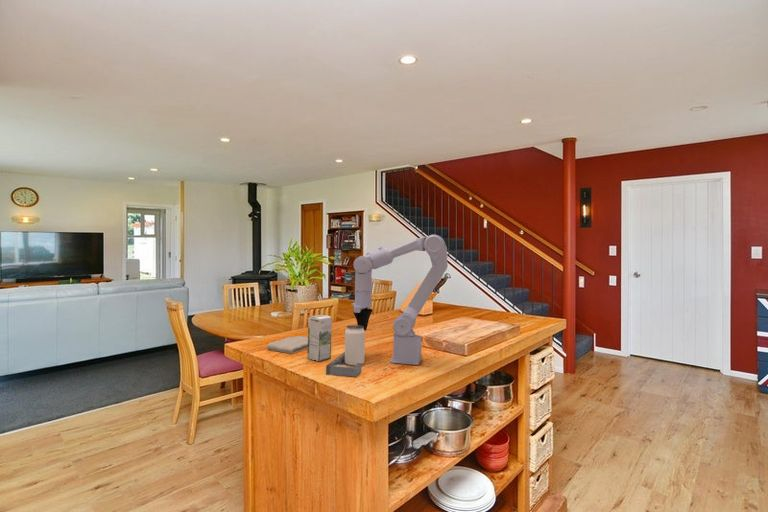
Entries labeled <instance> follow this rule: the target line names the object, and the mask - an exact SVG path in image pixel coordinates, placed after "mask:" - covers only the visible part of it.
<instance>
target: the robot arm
mask: <svg viewBox="0 0 768 512" xmlns="http://www.w3.org/2000/svg"><path fill="white" fill-rule="evenodd" d="M415 251H420V252H426V253H427V255H428V256H429V259H430V262H431V268H430V269H429V271H428V273H427V274H426V276H425V277H424V278H423V280H422V282H421V284H419V285H420V286H418V288H417V290H416V292H415V293H414V294H413V297H412V298H411V299H410V301H409V303H408V305H407V306H406V307H405V309H404V310H403V312H402V313H400V314H399V315H398V317H397V318H395V320H394V321H393V324H392V328H393V329H392V330H393V331H394V332H393V342H392V343H393V348H392V349H393V350H392V353H393V354H392V357H391V359H390V361H389V363H391V364H403V365H413V366H414V365H415V366H418V365H419V364H420V362H421V361H422V345H423V343H422V336H421V335H416V332H415V330H414V329H413V328H414V327H415V325H416V320H417V318H418V316H419V314H420V312H421V311H422V309H423V307H424V306H425V305H426V304H427V301H428V300H429V298H430V296H431V295H432V293H433V291H434V290H435V289H436V286H437V285H438V283H439V282H440V280H441V279H442V277H443V276H444V273H445V272H447V270H448V265H449V264H448V247H447V245H446V242H445V240H444V238H442V236H440V235H438V234H430V235H428V236H423V237H419V238H414V239H412V240H410V241H408V242H405V243H403V244H401V245H399V246H396V247H393V248H391V249H390V248H388V247H386V246H385V247H383V246H381V247H378V250H374V251H373V252H366V253H365V255H359V256H358V257H357V258H355V260H354V261H353V268H354V270H355V277H354V302H353V303H352V302H351V306H353V310H352V311H353V315H354V317H355V320H356V325H360V326H363V327H364V331H365V332H366V331H367V329H368V325H369V320H370V317H371V315H372V313H373V308H371V307H372V306H373V304H372V297H373V296H372V292H373V290H372V288H373V287H372V286H373V284H372V283H373V282H372V281H373V278H372V274H373V272H372V271H373V269H374V270H377V269H379V268H382V267H385V266H387V265H389V264H392V263H393V261H394V259H395V258H398V257H400V256H404V255H406V254H409V253H412V252H415Z"/></svg>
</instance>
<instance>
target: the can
mask: <svg viewBox="0 0 768 512" xmlns="http://www.w3.org/2000/svg"><path fill="white" fill-rule="evenodd" d="M344 332H345V333H344V352H345V362H344V364H346V365H347V366H349V367H354V366H355V365H356V364H357V363H362V365H364V364H365V349H366V345H365V344H366V330H365V331H364V327H363V326H360V325H358V324H355V325H354V324H353V325H351V324H350V325H347V326H346V329H345V331H344Z"/></svg>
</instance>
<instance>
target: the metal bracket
mask: <svg viewBox="0 0 768 512" xmlns="http://www.w3.org/2000/svg"><path fill="white" fill-rule="evenodd" d="M343 364H344V365H343ZM362 367H363V364H362V363H357V364H356V365H355V366H349V365H347V364H346V365H345V351H344V352H343V353H341V354H340V355H339V356H337V357H336V358H334V359H333V360H331V361H330V362H329V363H328V364H327V365H326V366H325V375H330V374H334V375H333V376H340V375H342V377H350V376H352V378H357V377H358V376H359V375H360V374H361V373H362ZM357 375H358V376H357ZM356 376H357V377H356Z"/></svg>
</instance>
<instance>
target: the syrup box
mask: <svg viewBox="0 0 768 512" xmlns="http://www.w3.org/2000/svg"><path fill="white" fill-rule="evenodd" d="M332 320H333V317H332V316H329V315H326V314H317V315H312V316H308V321H307V323H308V325H307V327H308V328H307V330H308V331H307V337H308V349H307V354H306V355H307V356H306V357H307V358H306V359H308V360H311V359H312V360H311V361H314V360H316V361H315V362H318V361H319V362H322V361H326V360H328V359H331V357H332V356H331V355H332V331H333V330H332V328H333V326H332V325H333V321H332Z"/></svg>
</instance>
